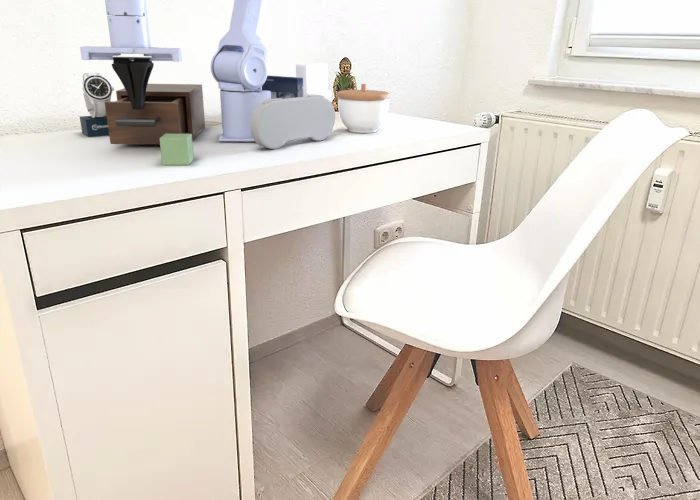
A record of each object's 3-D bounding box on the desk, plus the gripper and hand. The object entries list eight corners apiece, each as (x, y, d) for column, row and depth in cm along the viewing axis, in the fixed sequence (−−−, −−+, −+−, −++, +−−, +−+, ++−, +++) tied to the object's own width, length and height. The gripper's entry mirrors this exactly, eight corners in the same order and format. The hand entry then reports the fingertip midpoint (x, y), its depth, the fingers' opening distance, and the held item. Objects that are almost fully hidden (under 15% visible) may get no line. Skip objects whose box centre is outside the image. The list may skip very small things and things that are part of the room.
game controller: (326, 136, 107) (327, 92, 104) (335, 138, 106) (336, 93, 103) (249, 150, 93) (247, 100, 90) (258, 152, 92) (256, 101, 89)
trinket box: (328, 132, 112) (329, 84, 108) (348, 124, 121) (349, 80, 118) (378, 136, 108) (380, 87, 105) (394, 129, 117) (396, 83, 114)
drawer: (175, 150, 88) (171, 106, 85) (101, 149, 87) (95, 105, 84) (194, 130, 104) (191, 94, 102) (132, 130, 103) (127, 93, 101)
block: (193, 159, 86) (191, 133, 84) (189, 165, 82) (187, 138, 81) (167, 159, 86) (165, 133, 84) (162, 164, 82) (159, 138, 80)
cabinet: (193, 140, 100) (189, 92, 97) (122, 140, 99) (115, 90, 96) (205, 127, 114) (202, 84, 110) (142, 126, 112) (137, 83, 109)
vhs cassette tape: (228, 119, 124) (225, 73, 120) (236, 118, 127) (233, 72, 123) (297, 127, 117) (296, 78, 113) (304, 125, 119) (304, 77, 116)
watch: (90, 138, 100) (81, 75, 96) (79, 131, 106) (70, 72, 101) (122, 135, 103) (114, 74, 99) (110, 129, 109) (102, 71, 105)
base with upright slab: (317, 120, 126) (317, 65, 121) (285, 117, 130) (284, 63, 125) (337, 116, 133) (338, 64, 128) (307, 113, 137) (307, 62, 133)
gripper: (66, 14, 78) (82, 111, 83) (171, 17, 79) (180, 112, 84) (84, 15, 84) (97, 105, 89) (180, 17, 86) (188, 106, 91)
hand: (138, 108), depth 87 cm, fingers closed
